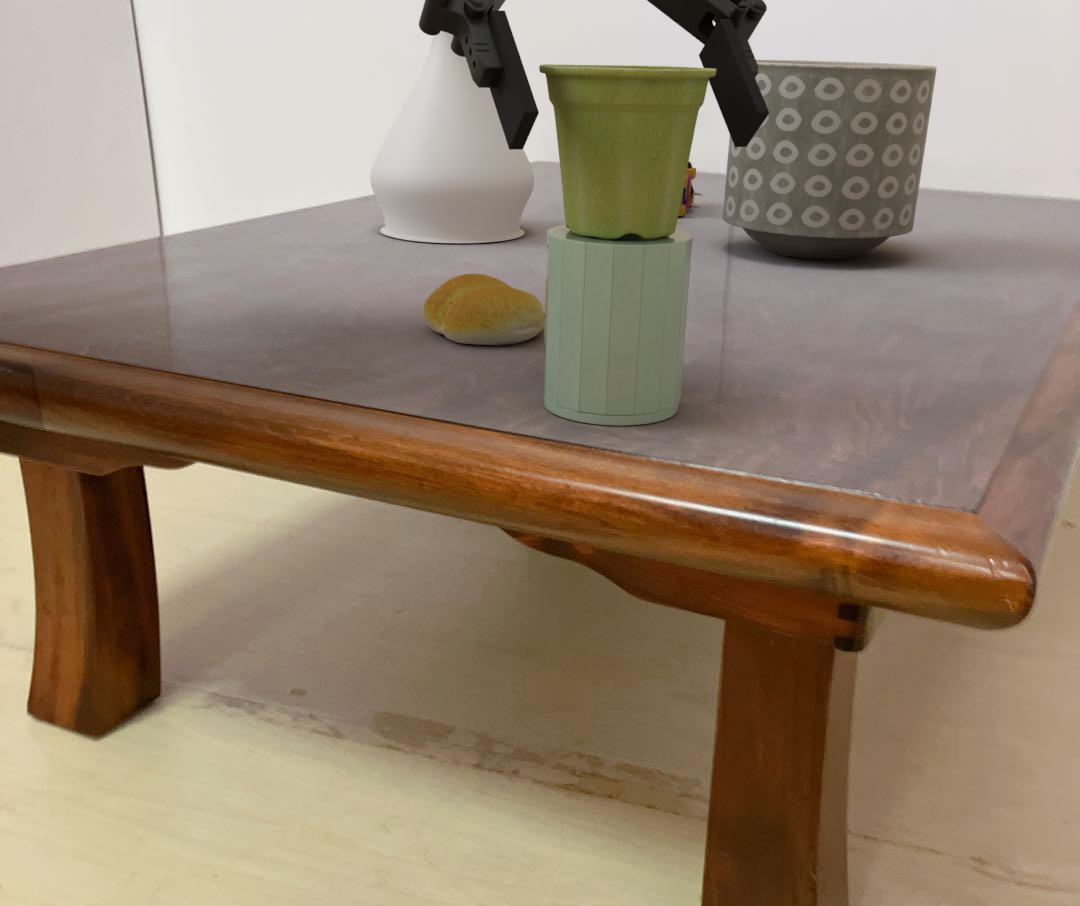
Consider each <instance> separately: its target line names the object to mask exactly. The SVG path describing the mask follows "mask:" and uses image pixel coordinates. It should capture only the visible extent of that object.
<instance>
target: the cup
mask: <svg viewBox="0 0 1080 906" xmlns="http://www.w3.org/2000/svg"><path fill="white" fill-rule="evenodd" d="M692 249H693V236H692V235H691V234H690V233H688V232H687V231H684V230H681V229H679V228H676V230H675V232H674V233H673V234H671V235H669V236H663V237H659V238H656V239H647V238H642V237H641V236H639V235H638V234H634V233H629V234H625V235H623V236H621V237H620V238H614V239H601V238H599V237H594V236H580V235H577V234H575V233H573V232H571V230H570V229H569V228H567V227H566V224H561V225H555V226H553V227H551V228H549V229H547V230H546V255H545V256H546V257H545V258H546V259H545V260H546V262H545V295H544V315H545V319H544V327H543V364H542V365H543V367H542V368H543V369H542V394H543V399H542V402H543V406H544V408H545V409H546V410H548V412H550V413H552V414H553V415H555V416H557V417H561V418H563V419H566V420H570V421H574V422H578V423H584V424H590V425H600V426H620V427H621V426H623V427H624V426H626V427H627V426H640V425H641V426H642V425H648V424H649V425H650V424H654V423H658V422H662V421H665V420H668V419H670V418H672V417H673V416H675V415H676V414H677V412H678V411H679V405H680V400H681V395H682V381H683V380H682V379H683V370H684V369H683V368H684V357H685V356H684V354H685V342H686V341H685V340H686V328H687V317H688V315H687V314H688V304H689V303H688V301H689V290H690V289H689V288H690V275H691V262H692V251H693V250H692Z"/></svg>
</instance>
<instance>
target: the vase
mask: <svg viewBox="0 0 1080 906" xmlns="http://www.w3.org/2000/svg"><path fill="white" fill-rule="evenodd" d="M453 36H454V35H452V34H450V33H447V32H444V31H441V32H440V33H439V34H437V35H433V36H432V38H431V43H430V47H429V50H428V53H427V54H426V55H427V56H426V58H425V60H424V63H423V65H422V66H421V68H420V69H421V70H420V72H419V74H418V76H417V77H416V80H415V81H414V84H413V86H412V87H411V89H410V91H409V93H408V95H407V97H406V99H405V101H404V103H403V104H402V106H401V108H400V109H399V112H398V113H397V115H396V117H395V119H394V121H393V123H392V124H391V126H390V128H389V130H388V131H387V134H386V135H385V137H384V139H383V141H382V143H381V145H380V147H379V148H378V151H377V153H376V155H375V158H374V160H373V163H372V165H371V168H370V173H369V181H370V186H371V189H372V193H373V195H374V196H375V199H376V200H377V202H378V204H379V207H380V209H381V210H382V214H383V219H384V226H382V227H381V228H380V229H379V232H380V233H381V234H383V235H384V236H387V237H390V238H394V239H399V240H405V241H412V242H420V243H433V244H434V243H435V244H436V243H437V244H481V243H482V244H483V243H495V242H497V243H498V242H505V241H510V240H514V239H518V238H521V237H522V236H524V235H525V231H524V230H523V229H522V228H521V220H522V215H523V213H524V210H525V207H526V205H527V204H528V201H529V199H530V197H531V195H532V193H533V190H534V187H535V186H534V185H535V177H534V176H535V175H534V172H533V168H532V165H531V163H530V160H529V158H528V156H527V154H526V152H525V149H524V148H523V149H512V150H509V147H508V144H507V141H506V138H505V135H504V132H503V128H502V125H501V122H500V119H499V116H498V113H497V110H496V107H495V104H494V100H493V97H492V94H491V91H490V88H479V87H478V86H477V85H476V84H475V82H474V81H473V80H472V76H471V73H470V70H469V67H468V64H467V61H466V57H461V56H458V55H456V54H455V53H454V52H453V51H452V49H451V42H452V39H453Z"/></svg>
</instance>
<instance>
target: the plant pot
mask: <svg viewBox="0 0 1080 906" xmlns="http://www.w3.org/2000/svg"><path fill="white" fill-rule="evenodd" d="M538 67H539V69H538V70H539V73H540V74H545V78H546V86H547V93H548V100H549V103H551V105H552V106H553V113H554V120H555V131H556V141H557V150H558V159H559V169H560V178H561V190H562V201H563V213H564V222H565V225H566V227H567V228H569V229H570V230H571V232H573V233H575V234H577V235H580V236H594V237H599V238H601V239H614V238H620V237H621V236H623V235H625V234H629V233H634V234H638V235H639V236H641V237H642V238H647V239H656V238H659V237H663V236H669V235H671V234H673V233H674V232H675V230H676V229H677V224H678V219H679V216H678V214H679V209H680V204H681V198H682V193H683V188H684V182H685V177H686V172H687V167H688V161H689V160H690V157H691V150H692V145H693V140H694V135H695V130H696V124H697V120H698V115H699V111H700V109H701V107H702V106H703V105H704V103H705V99H706V94H707V88H708V84H709V78H710V77H714V76H715V75H716V69H712V68H704V67H693V66H669V65H668V66H667V65H624V64H623V65H622V64H621V65H620V64H619V65H618V64H617V65H616V64H550V63H549V64H548V63H547V64H539V66H538ZM689 162H690V161H689Z"/></svg>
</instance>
